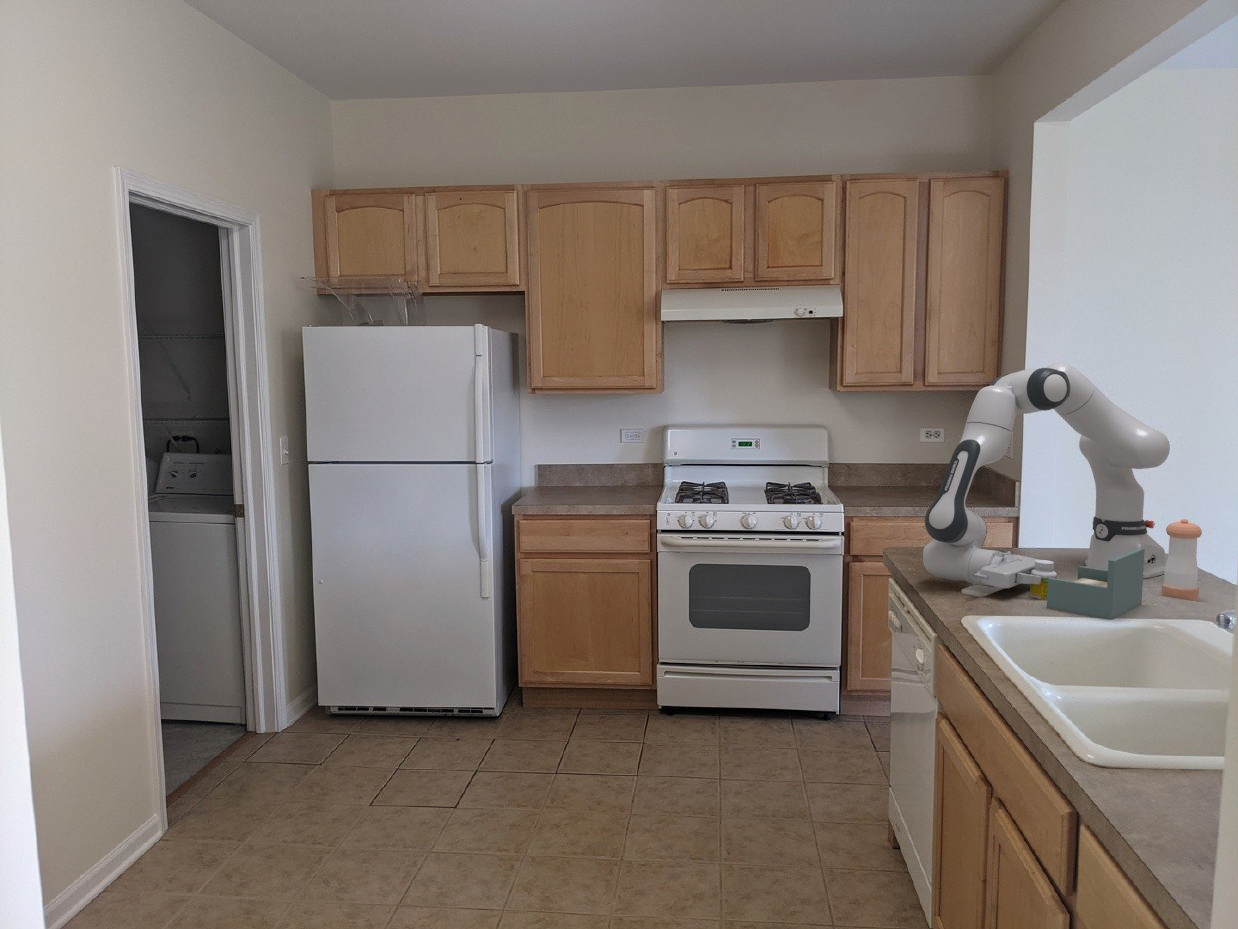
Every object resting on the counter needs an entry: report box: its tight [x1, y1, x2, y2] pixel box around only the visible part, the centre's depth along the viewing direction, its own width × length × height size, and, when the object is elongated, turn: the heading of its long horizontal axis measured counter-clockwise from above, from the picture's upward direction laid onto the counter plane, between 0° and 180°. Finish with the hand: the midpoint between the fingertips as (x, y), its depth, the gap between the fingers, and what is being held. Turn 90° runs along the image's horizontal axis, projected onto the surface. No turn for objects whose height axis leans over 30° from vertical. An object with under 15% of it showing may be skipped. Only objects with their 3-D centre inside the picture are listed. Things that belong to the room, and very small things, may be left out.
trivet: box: [961, 584, 1006, 598], centre depth 213 cm, size 10×10×1 cm
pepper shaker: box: [1161, 518, 1203, 603], centre depth 205 cm, size 7×7×19 cm
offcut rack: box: [1046, 548, 1145, 621], centre depth 196 cm, size 13×18×14 cm
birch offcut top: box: [1073, 578, 1107, 587], centre depth 196 cm, size 9×11×2 cm
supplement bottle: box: [1029, 559, 1058, 601], centre depth 204 cm, size 5×5×10 cm
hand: (1047, 577), depth 203 cm, fingers closed on supplement bottle, 5 cm apart
